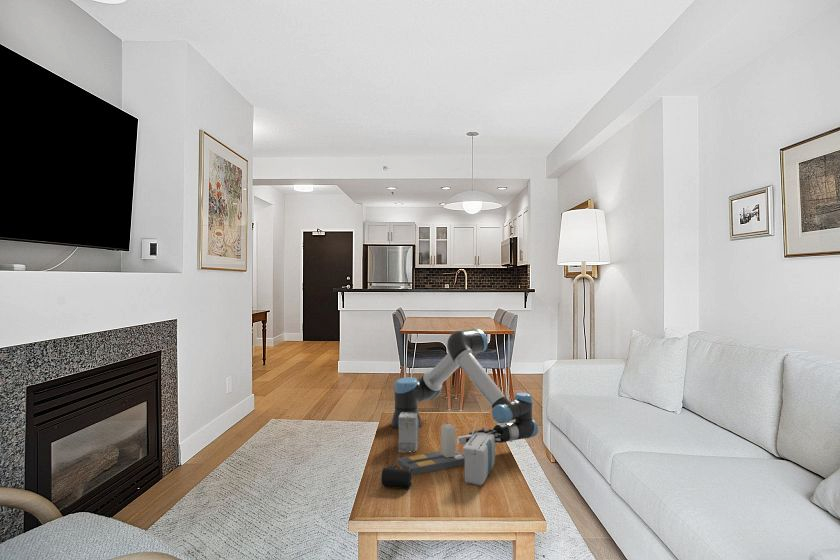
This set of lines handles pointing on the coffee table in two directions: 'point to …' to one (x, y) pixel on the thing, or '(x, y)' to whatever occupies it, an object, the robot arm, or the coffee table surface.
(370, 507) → the coffee table surface
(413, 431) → the circuit breaker
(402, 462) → the grey flat board
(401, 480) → the end cap
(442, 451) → the slider tab
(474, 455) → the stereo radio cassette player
